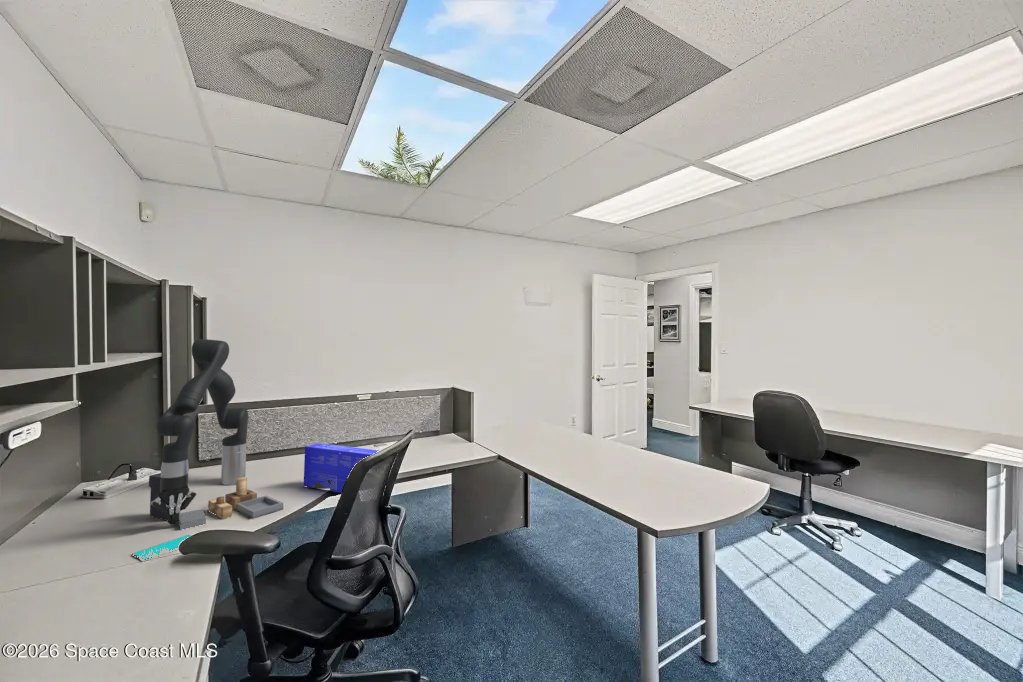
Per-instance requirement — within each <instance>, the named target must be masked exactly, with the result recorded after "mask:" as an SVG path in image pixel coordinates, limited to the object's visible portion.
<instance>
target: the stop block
mask: <svg viewBox="0 0 1023 682" xmlns="http://www.w3.org/2000/svg"><path fill="white" fill-rule="evenodd" d="M207 504H208V509H207V512H209V511H210V513H211V512H212V513H211V514H213V513H214V514H216V515H217V516H216V515H215V516H216V517H218V516H219V517H218V518H220V519H222V520H225V519H228V517H229V518H232V517H233V508H232V505H230V504H228V503H226V502H225V496H218V497H216V498H212V499H209V500H208V503H207ZM214 514H213V515H214ZM231 516H232V517H231Z"/></svg>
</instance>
